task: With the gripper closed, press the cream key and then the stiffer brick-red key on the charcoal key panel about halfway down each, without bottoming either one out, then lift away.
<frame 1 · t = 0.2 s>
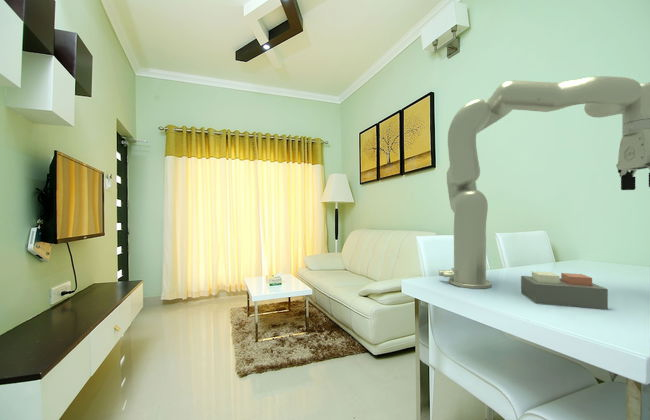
hand: (641, 188, 80), 31 cm above the table, tool pointing down, fingers open, 9 cm apart
red key: (576, 281, 74), point 5 cm above the table, slide at 0.0 cm
key panel: (560, 300, 75), on the table
cream key: (545, 279, 77), point 5 cm above the table, slide at 0.0 cm
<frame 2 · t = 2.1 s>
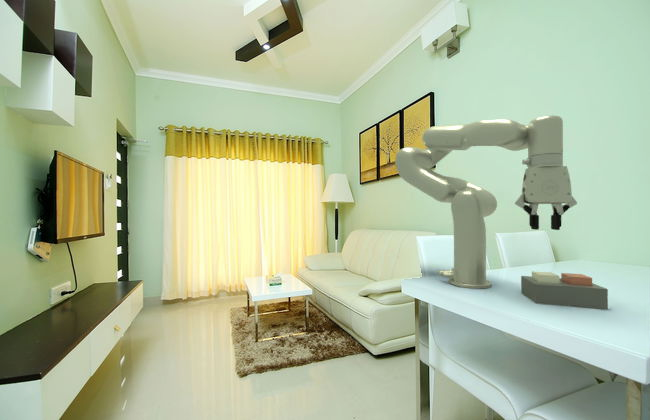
hand: (545, 228, 77), 19 cm above the table, tool pointing down, fingers open, 4 cm apart
nothing on the table moved.
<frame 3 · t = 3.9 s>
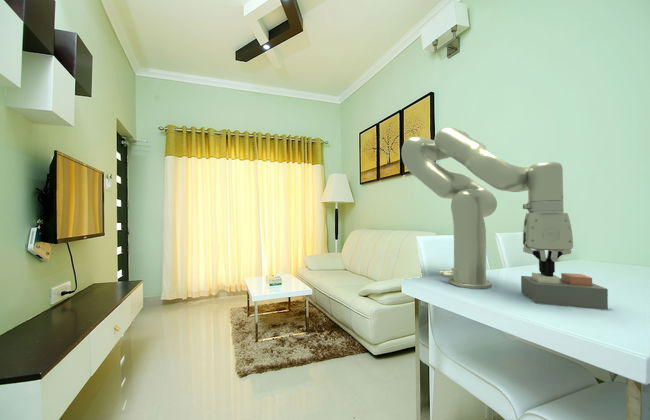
hand: (546, 275, 76), 7 cm above the table, tool pointing down, fingers closed
cream key: (545, 280, 77), point 5 cm above the table, slide at 0.4 cm, touching gripper
everything else where it was.
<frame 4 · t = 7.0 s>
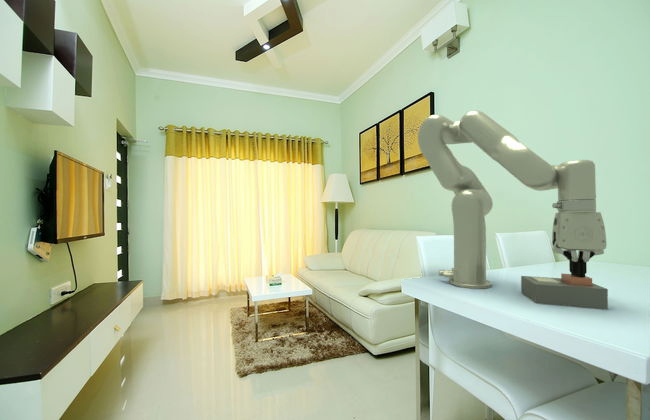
hand: (578, 275, 74), 7 cm above the table, tool pointing down, fingers closed
red key: (576, 281, 74), point 5 cm above the table, slide at 0.1 cm, touching gripper
cream key: (545, 285, 77), point 4 cm above the table, slide at 1.6 cm
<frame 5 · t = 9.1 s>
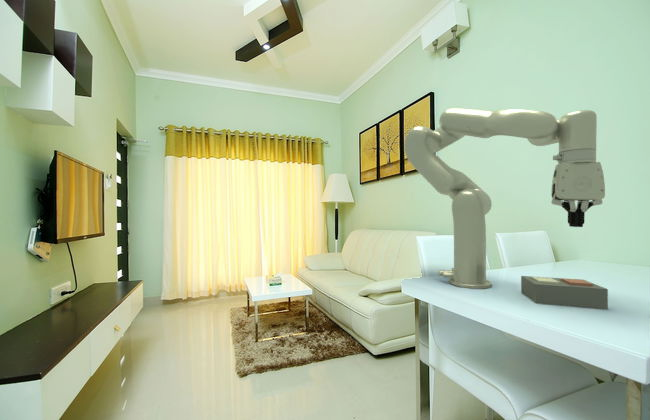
hand: (575, 226, 75), 20 cm above the table, tool pointing down, fingers closed
red key: (576, 286, 74), point 4 cm above the table, slide at 1.5 cm
everything else where it was.
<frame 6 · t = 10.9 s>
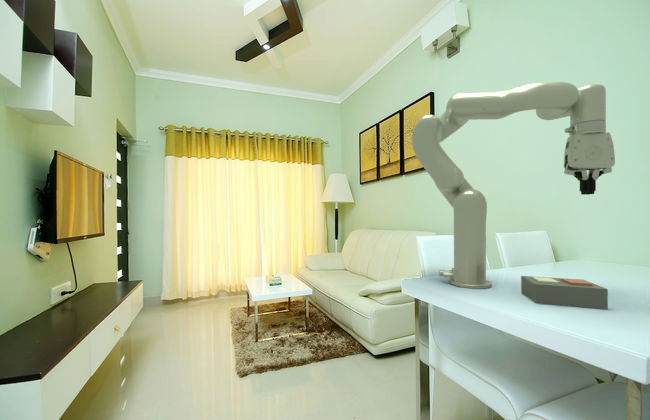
hand: (587, 194, 80), 29 cm above the table, tool pointing down, fingers closed
nothing on the table moved.
at the end: cream key slide at 1.6 cm; red key slide at 1.5 cm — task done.
